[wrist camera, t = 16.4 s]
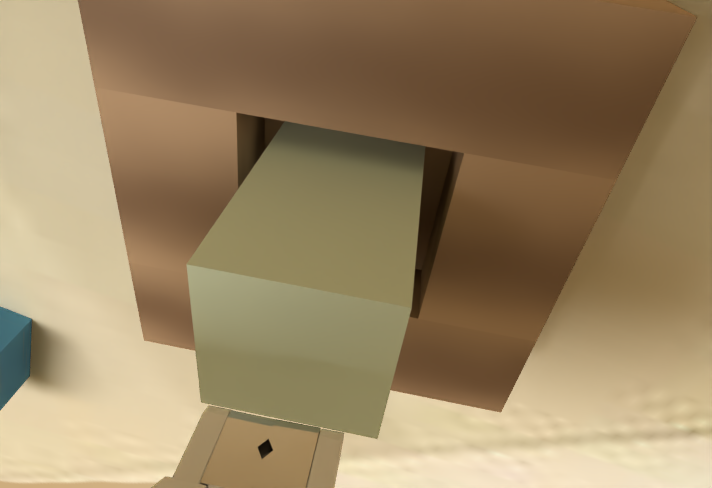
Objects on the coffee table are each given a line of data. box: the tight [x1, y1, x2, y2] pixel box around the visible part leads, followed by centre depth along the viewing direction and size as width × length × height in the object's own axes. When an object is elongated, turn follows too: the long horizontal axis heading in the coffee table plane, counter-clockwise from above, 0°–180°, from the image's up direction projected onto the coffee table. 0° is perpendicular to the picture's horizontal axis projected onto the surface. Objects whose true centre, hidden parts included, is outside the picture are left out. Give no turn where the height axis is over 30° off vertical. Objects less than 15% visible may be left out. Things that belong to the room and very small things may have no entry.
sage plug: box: [186, 121, 425, 439], centre depth 16 cm, size 5×5×9 cm
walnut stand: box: [78, 0, 697, 412], centre depth 19 cm, size 16×16×4 cm
